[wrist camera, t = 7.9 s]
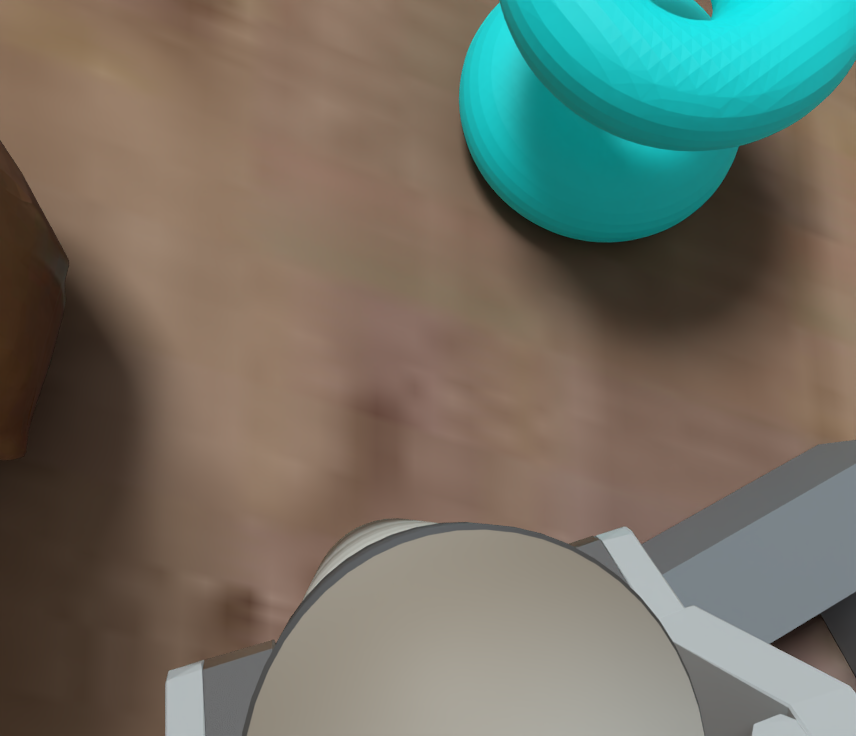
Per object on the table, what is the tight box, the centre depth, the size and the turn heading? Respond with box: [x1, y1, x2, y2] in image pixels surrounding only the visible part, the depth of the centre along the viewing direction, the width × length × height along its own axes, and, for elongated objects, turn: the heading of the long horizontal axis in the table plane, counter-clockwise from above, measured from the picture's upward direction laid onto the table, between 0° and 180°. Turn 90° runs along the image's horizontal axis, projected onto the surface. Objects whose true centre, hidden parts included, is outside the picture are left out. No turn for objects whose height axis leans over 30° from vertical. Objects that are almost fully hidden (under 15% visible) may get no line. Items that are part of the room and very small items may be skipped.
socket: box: [641, 440, 856, 676], centre depth 23 cm, size 12×12×4 cm
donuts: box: [459, 0, 856, 242], centre depth 23 cm, size 10×10×10 cm
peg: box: [242, 518, 705, 736], centre depth 12 cm, size 4×4×12 cm
